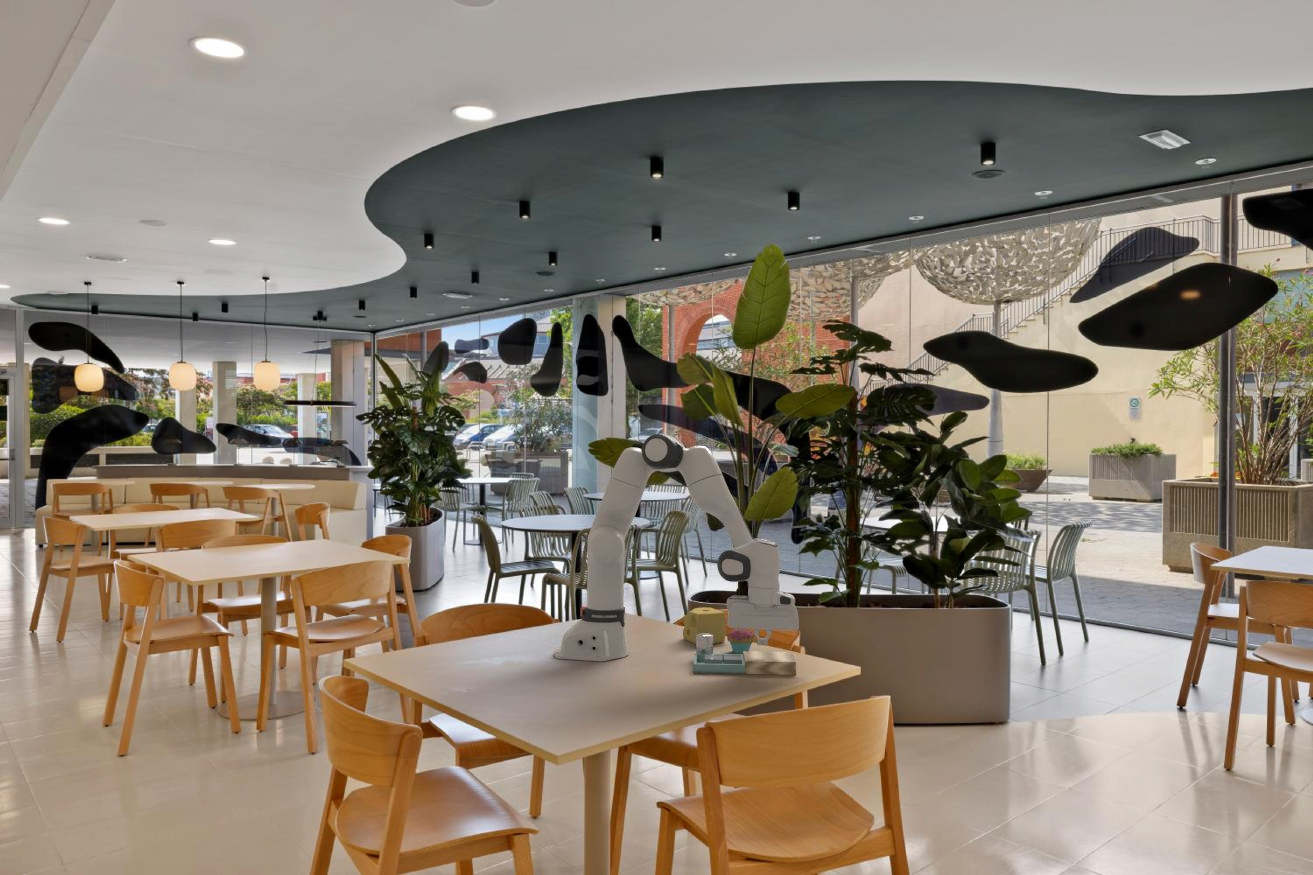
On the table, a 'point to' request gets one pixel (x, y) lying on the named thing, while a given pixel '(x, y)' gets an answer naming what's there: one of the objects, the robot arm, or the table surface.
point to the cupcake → (740, 640)
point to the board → (769, 663)
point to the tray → (718, 665)
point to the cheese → (705, 624)
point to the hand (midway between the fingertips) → (762, 644)
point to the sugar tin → (704, 643)
